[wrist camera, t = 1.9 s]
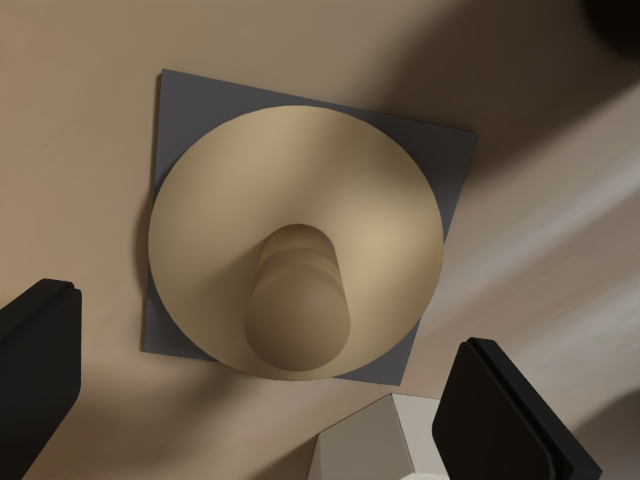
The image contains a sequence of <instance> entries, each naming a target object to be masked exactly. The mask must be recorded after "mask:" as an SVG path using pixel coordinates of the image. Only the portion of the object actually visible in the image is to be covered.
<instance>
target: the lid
mask: <svg viewBox="0 0 640 480" xmlns="http://www.w3.org/2000/svg"><path fill="white" fill-rule="evenodd" d="M443 249H444V246H443V228H442V222H441V216H440V211H439V208H438V205H437V202H436V199H435V196H434V194H433V192H432V190H431V188H430V186H429V184H428V182H427V179H426V178H425V176H424V175H423V173H422V172H421V170H420V169H419V167H418V166H417V164H416V163H415V162H414V160H413V159H412V158H411V157H410V156H409V155H408V154H407V153H406V152H405V151H404V150H403V148H402V147H401V146H399V145H398V144H397V143H396V142H394V141H393V140H392V139H391V138H390V137H388V136H387V135H386V134H384V133H383V132H381V131H380V130H378V129H376V128H375V127H373V126H371V125H370V124H368V123H366V122H364V121H361V120H359V119H357V118H354V117H352V116H350V115H348V114H345V113H341V112H338V111H334V110H331V109H327V108H321V107H313V106H306V105H293V106H278V107H271V108H265V109H261V110H258V111H254V112H251V113H247V114H244V115H242V116H239V117H237V118H235V119H233V120H230V121H228V122H226V123H224V124H222V125H220V126H218V127H217V128H215V129H214V130H212V131H210V132H209V133H207V134H206V135H204V136H203V137H202V138H201V139H199V140H198V141H197V142H196V143H195V144H194V145H192V146H191V147H190V148H189V149H188V150H187V151H186V152H185V153H184V155H183V156H182V157H181V158H180V159H179V160H178V161H177V162H176V164H175V165H174V167H173V168H172V170H171V171H170V173H169V174H168V176H167V177H166V179H165V180H164V183H163V185H162V187H161V189H160V191H159V193H158V196H157V198H156V201H155V204H154V208H153V211H152V215H151V220H150V227H149V234H148V254H149V260H150V267H151V273H152V276H153V279H154V283H155V286H156V289H157V291H158V294H159V296H160V298H161V300H162V302H163V305H164V306H165V308H166V310H167V311H168V313H169V314H170V316H171V318H172V319H173V321H174V322H175V323H176V324H177V326H178V327H179V328H180V329H181V330H182V332H183V333H184V334H185V335H186V336H187V337H188V338H189V339H190V340H191V341H192V342H193V343H195V344H196V345H197V346H198V347H199V348H201V349H202V350H203V351H205V352H206V353H207V354H209V355H210V356H211V357H213V358H215V359H217V360H218V361H220V362H222V363H224V364H225V365H228V366H230V367H232V368H234V369H237V370H239V371H241V372H244V373H248V374H251V375H254V376H258V377H262V378H268V379H273V380H283V381H311V380H318V379H325V378H330V377H334V376H338V375H341V374H345V373H347V372H350V371H353V370H355V369H358V368H360V367H362V366H364V365H366V364H368V363H370V362H372V361H374V360H376V359H377V358H379V357H380V356H382V355H383V354H385V353H386V352H388V351H389V350H390V349H391V348H393V347H394V346H395V345H396V344H397V343H398V342H400V341H401V340H402V339H403V338H404V337H405V336H406V335H407V334H408V332H409V331H410V330H411V329H412V328H413V327H414V326H415V324H416V323H417V321H418V320H419V319H420V317H421V316H422V315H423V313H424V311H425V309H426V308H427V306H428V304H429V302H430V300H431V298H432V296H433V293H434V291H435V288H436V286H437V283H438V279H439V275H440V271H441V267H442V258H443Z"/></svg>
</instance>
